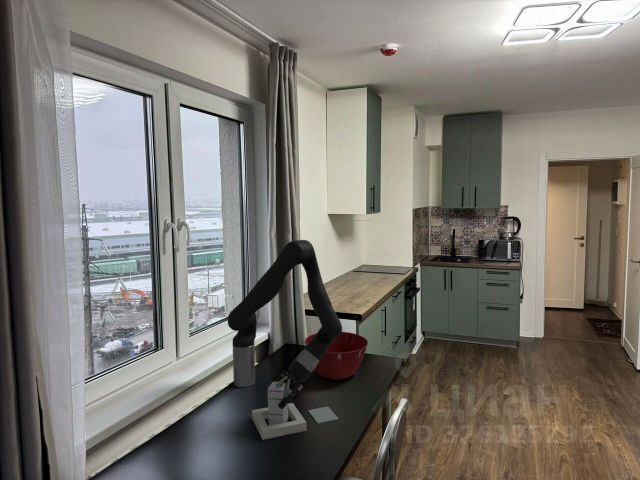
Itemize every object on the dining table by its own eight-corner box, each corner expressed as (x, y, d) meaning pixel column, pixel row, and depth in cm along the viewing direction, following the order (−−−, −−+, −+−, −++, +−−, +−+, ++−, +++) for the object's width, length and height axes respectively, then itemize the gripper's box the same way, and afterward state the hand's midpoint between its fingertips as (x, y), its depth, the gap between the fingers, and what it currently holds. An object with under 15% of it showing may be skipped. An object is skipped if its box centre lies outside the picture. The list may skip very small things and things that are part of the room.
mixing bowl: (378, 369, 208) (378, 337, 207) (348, 393, 184) (348, 356, 183) (326, 357, 223) (326, 327, 222) (292, 378, 200) (292, 344, 198)
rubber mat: (308, 411, 169) (308, 410, 169) (328, 407, 172) (328, 406, 172) (317, 423, 160) (317, 422, 160) (338, 419, 163) (338, 418, 163)
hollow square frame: (252, 418, 164) (251, 410, 164) (292, 410, 170) (292, 402, 170) (262, 439, 150) (262, 431, 150) (306, 430, 156) (306, 422, 155)
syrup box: (284, 429, 157) (283, 389, 155) (268, 427, 158) (267, 387, 156) (288, 421, 162) (288, 382, 161) (273, 419, 163) (272, 381, 162)
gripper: (288, 353, 167) (260, 389, 163) (306, 366, 155) (275, 405, 151) (301, 364, 170) (274, 400, 166) (319, 377, 158) (290, 417, 154)
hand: (275, 402), depth 158 cm, fingers open, 8 cm apart
